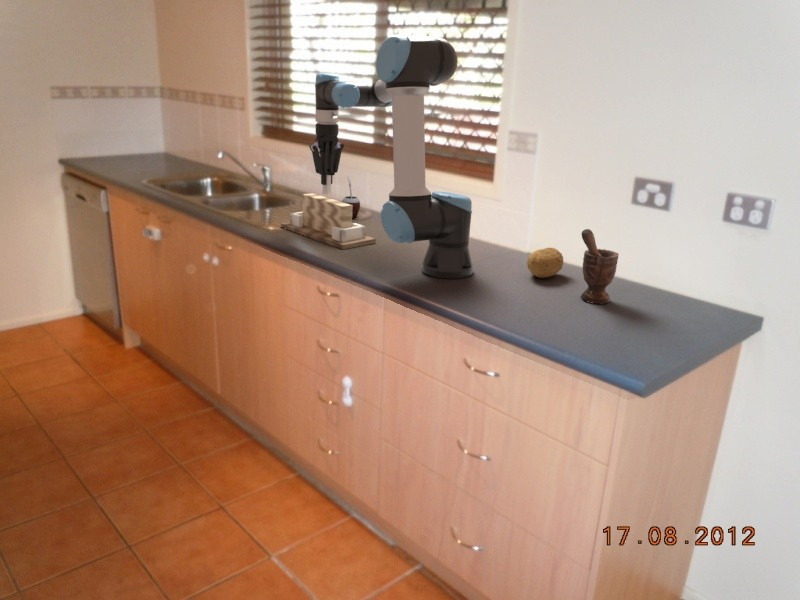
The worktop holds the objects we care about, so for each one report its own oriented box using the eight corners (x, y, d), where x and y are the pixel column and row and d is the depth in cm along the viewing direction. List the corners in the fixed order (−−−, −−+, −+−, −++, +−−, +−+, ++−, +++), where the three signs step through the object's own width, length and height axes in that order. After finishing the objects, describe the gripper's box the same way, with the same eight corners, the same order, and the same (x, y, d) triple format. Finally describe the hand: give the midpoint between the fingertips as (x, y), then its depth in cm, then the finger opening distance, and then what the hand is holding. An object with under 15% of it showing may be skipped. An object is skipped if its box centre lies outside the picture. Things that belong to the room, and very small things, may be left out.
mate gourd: (352, 220, 254) (353, 181, 249) (336, 217, 258) (336, 179, 253) (363, 217, 260) (364, 179, 255) (347, 214, 264) (348, 176, 259)
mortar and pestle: (598, 310, 170) (610, 234, 163) (567, 302, 175) (577, 228, 168) (616, 300, 178) (627, 227, 172) (585, 292, 183) (595, 221, 177)
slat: (352, 237, 224) (352, 205, 220) (342, 239, 221) (342, 206, 218) (312, 223, 241) (312, 193, 237) (303, 224, 238) (302, 194, 235)
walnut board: (375, 243, 224) (375, 238, 224) (342, 249, 215) (343, 245, 214) (312, 222, 249) (312, 218, 248) (280, 227, 239) (280, 223, 239)
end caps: (365, 237, 224) (365, 226, 223) (342, 242, 218) (342, 230, 216) (312, 220, 245) (312, 210, 243) (290, 224, 238) (290, 213, 237)
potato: (516, 278, 194) (518, 251, 191) (538, 268, 204) (541, 243, 201) (546, 285, 188) (549, 258, 185) (568, 275, 198) (571, 249, 196)
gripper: (317, 124, 212) (317, 198, 220) (349, 123, 221) (348, 194, 229) (304, 122, 217) (304, 194, 225) (335, 121, 226) (335, 190, 234)
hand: (326, 194), depth 227 cm, fingers closed
